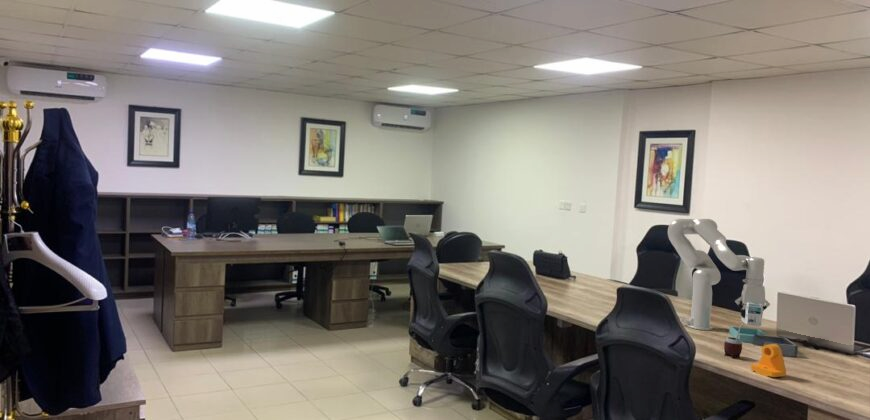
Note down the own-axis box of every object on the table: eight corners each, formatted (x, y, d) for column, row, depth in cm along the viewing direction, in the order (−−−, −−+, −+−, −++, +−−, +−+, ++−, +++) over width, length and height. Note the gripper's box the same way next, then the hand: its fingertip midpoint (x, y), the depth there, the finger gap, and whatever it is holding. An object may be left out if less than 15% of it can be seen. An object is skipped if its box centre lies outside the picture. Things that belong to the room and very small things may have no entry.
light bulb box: (761, 326, 304) (763, 304, 304) (746, 325, 306) (748, 303, 305) (754, 321, 315) (756, 300, 314) (740, 320, 316) (742, 299, 316)
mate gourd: (723, 357, 273) (727, 323, 272) (722, 352, 280) (725, 319, 279) (742, 360, 270) (746, 325, 269) (741, 355, 277) (744, 322, 277)
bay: (764, 353, 284) (765, 342, 283) (752, 344, 300) (753, 334, 299) (797, 357, 281) (798, 346, 281) (783, 347, 297) (784, 337, 297)
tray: (739, 341, 304) (739, 334, 303) (728, 332, 321) (729, 326, 321) (770, 344, 301) (770, 337, 301) (758, 336, 319) (758, 329, 318)
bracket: (749, 370, 255) (751, 341, 254) (761, 369, 258) (764, 340, 257) (773, 379, 245) (776, 349, 244) (785, 377, 248) (788, 348, 247)
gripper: (737, 282, 307) (734, 317, 308) (775, 285, 304) (772, 321, 305) (733, 279, 315) (730, 314, 316) (770, 282, 312) (767, 318, 312)
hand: (751, 317), depth 310 cm, fingers closed on light bulb box, 6 cm apart
